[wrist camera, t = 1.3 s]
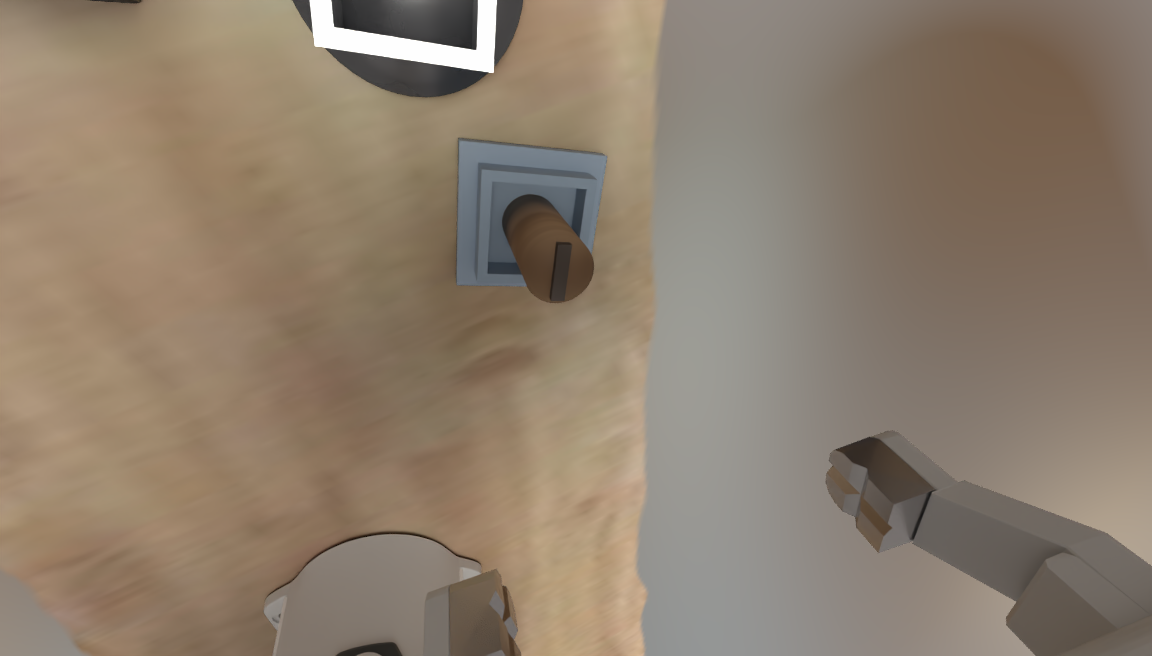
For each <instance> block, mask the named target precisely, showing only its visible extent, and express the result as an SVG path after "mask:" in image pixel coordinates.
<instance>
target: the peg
mask: <svg viewBox="0 0 1152 656" xmlns="http://www.w3.org/2000/svg"><path fill="white" fill-rule="evenodd" d="M502 227H503V231H504V234H505V236H506V238H507V241H508V243H509V245H510V248H511V250H512V252H513V255H514V257H515V259H516V262H517V264H518V266H519V269H520V271H521V273H522V276H523V278H524V280H525V283H526V285H527V287H528V289H529V290H530V292H531V293H532V294H533V295H534V296H536V297H537V298H539V299H541V300H543V301H546V302H550V303H561V302H566V301H569V300H571V299H573V298H575V297H577V296H578V295H579V294H581V293H582V292H583V291H584V290H585V289H586V287H587V286H588V284H589V283H590V281H591V278H592V275H593V270H594V262H593V258H592V255H591V253H590V251H589V249H588V248H587V247H586V245H585V244H584V243H583V242H582V240H581V239H580V238H579V237H578V236H577V234H576V233H575V232H574V231H573V229H572V228H571V227H570V226H569V225H568V223H567V222H566V221H565V220H564V219H563V217H562V216H561V215H560V214H559V212H558V211H557V210H556V209H555V208H554V206H553V205H552V204H551V203H550V202H549V201H548V200H547V199H545V198H544V197H542V196H539V195H535V194H526V195H522V196H519V197H517V198H516V199H514V200H513V201H512V202H511V203H510V204H509V205H508V206H507V207H506V209H505V211H504V214H503V218H502Z"/></svg>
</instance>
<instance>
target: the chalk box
mask: <svg viewBox="0 0 1152 656" xmlns="http://www.w3.org/2000/svg"><path fill="white" fill-rule="evenodd" d="M92 1H105V2H121V3H139V2H140V0H92Z"/></svg>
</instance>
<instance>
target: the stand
mask: <svg viewBox="0 0 1152 656" xmlns="http://www.w3.org/2000/svg"><path fill="white" fill-rule="evenodd" d="M606 161H607V156H606V155H605V154H603V153H595V152H586V151H577V150H567V149H558V148H549V147H539V146H530V145H521V144H511V143H502V142H493V141H483V140H474V139H464V138H458V195H457V253H456V283H457V285H469V286H527V285H526V283H525V280H524V278H523V276H522V273H521V271H520V269H519V266H518V264H517V262H516V259H515V257H514V255H513V252H512V250H511V248H510V245H509V243H508V241H507V238H506V236H505V234H504V231H503V227H502V218H503V214H504V211H505V209H506V207H507V206H508V205H509V204H510V203H511V202H512V201H513V200H514V199H516V198H517V197H519V196H522V195H526V194H535V195H539V196H542V197H544V198H545V199H547V200H548V201H549V202H550V203H551V204H552V205H553V206H554V208H555V209H556V210H557V211H558V212H559V214H560V215H561V216H562V217H563V219H564V220H565V221H566V222H567V223H568V225H569V226H570V227H571V228H572V229H573V231H574V232H575V233H576V234H577V236H578V237H579V238H580V239H581V240H582V242H583V243H584V244H585V245H586V247H587V248H588V249H589V251H590V253H591V255H592V248H593V242H594V236H595V230H596V223H597V217H598V211H599V205H600V199H601V192H602V186H603V180H604V174H605V168H606Z"/></svg>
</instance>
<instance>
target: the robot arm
mask: <svg viewBox="0 0 1152 656" xmlns="http://www.w3.org/2000/svg"><path fill="white" fill-rule="evenodd" d="M829 461H830V463H831V464H832V465H833V466H832V467H831V468H830V469H829V471H828V472H827V474H826V485H827V488H828V491H829V494H830V495H831V497H832V499H833V500H834V502H835V503H836V504H837V506H838V507H839V508H840V509H841V510H842V511H843V512H845V513H847V514H849V515H852V516H854V517H855V519H856V528H857V529H858V530H859V531H860V532H861V534H862V535H863V536H864V537H865V538H866V539H867V540H868V542H869V543H870V544H871V545H872V546H873V547H874V548H875V550H876V551H877V552H878V553H880V552H883V551H885V550H889V549H891V548H894V547H897V546H900V545H903V544H906V543H909V542H911V541H913V544H914V545H916V546H918V547H920V548H921V549H923V550H925V551H927V552H929V553H930V554H932V555H934V556H936V557H938V558H939V559H941V560H943V561H945V562H946V563H948V564H950V565H952V566H954V567H955V568H957V569H959V570H961V571H963V572H964V573H966V574H968V575H970V576H971V577H973V578H975V579H977V580H979V581H981V582H982V583H984V584H986V585H988V586H989V587H991V588H993V589H995V590H997V591H998V592H1000V593H1002V594H1004V595H1005V596H1007V597H1009V598H1011V599H1013V600H1014V601H1016V604H1015V605H1014V607H1013V608H1012V609H1011V611H1010V612H1009V614H1008V615H1007V617H1006V625H1007V626H1008V627H1009V628H1010V629H1011V630H1012V632H1013V633H1014V634H1015V635H1016V636H1017V637H1018V638H1019V639H1020V640H1021V641H1022V642H1023V643H1024V644H1025V645H1026V646H1027V647H1028V648H1029V649H1030V650H1031V651H1032V652H1033V653H1034V654H1035V656H1152V566H1151V565H1149V564H1148V563H1147V562H1145V561H1144V560H1143V559H1141V558H1140V557H1139V556H1137V555H1136V554H1134V553H1133V552H1132V551H1130V550H1129V549H1127V548H1126V547H1125V546H1124V545H1122V544H1121V543H1119V542H1118V541H1117V540H1115V539H1114V538H1113V537H1111V536H1110V535H1109V534H1107V533H1105V532H1102V531H1100V530H1097V529H1094V528H1091V527H1089V526H1086V525H1083V524H1081V523H1078V522H1075V521H1072V520H1070V519H1067V518H1064V517H1062V516H1059V515H1056V514H1054V513H1051V512H1048V511H1045V510H1043V509H1040V508H1037V507H1035V506H1032V505H1029V504H1027V503H1024V502H1021V501H1018V500H1016V499H1013V498H1010V497H1007V496H1005V495H1002V494H999V493H997V492H994V491H991V490H989V489H986V488H983V487H980V486H978V485H975V484H972V483H969V482H967V481H961V482H957V481H956V480H955V479H954V478H952V477H951V476H950V475H949V474H948V473H946V472H945V471H944V470H943V469H942V468H941V467H939V466H938V465H937V464H935V462H933V461H932V460H931V459H930V458H929V457H927V456H926V455H925V454H924V453H923V452H921V451H920V450H919V449H918V448H917V447H915V446H914V445H913V444H912V443H911V442H910V441H908V440H907V439H906V438H905V437H904V436H902V435H901V434H900V433H898V432H895V431H893V430H891V431H885V432H883V433H880V434H877V435H874V436H872V437H867V438H865V439H862V440H860V441H857V442H854V443H851V444H849V445H846V446H843V447H841V448H838V449H836V450H834V451H832V452H831V453H830V457H829ZM264 614H265V616H266V617H267V618H268V620H269V621H270V622H271V624H272V625H273V626H274V628H275V629H276V630H277V636H276V640H275V645H274V650H273V655H272V656H521V652H520V650H519V648H518V646H517V645H516V643H515V641H514V638H515V636H516V633H517V631H518V628H517V621H516V615H515V610H514V606H513V601H512V599H511V596H510V593H509V591H508V589H507V587H506V586H502V580H501V575H500V574H499V572H498V570H497V569H494V570H491V571H488V572H485V573H483V574H481V565H480V564H479V563H477V562H475V561H472V560H468V559H464V558H460V557H457V556H456V555H454V554H453V553H451V552H450V551H449V550H448V549H446V548H445V547H443V546H442V545H440V544H438V543H436V542H434V541H432V540H429V539H426V538H422V537H418V536H412V535H402V534H386V535H375V536H369V537H364V538H359V539H355V540H352V541H349V542H346V543H343V544H340V545H338V546H336V547H333V548H331V549H329V550H327V551H326V552H324V553H322V554H321V555H319V556H318V557H316V558H315V559H313V560H312V561H311V562H310V563H309V564H308V565H307V566H306V567H305V568H304V569H303V570H302V571H301V572H300V574H299V575H298V576H297V577H296V578H295V579H294V580H293V581H292V582H291V583H289V584H287V585H285V586H284V587H282V588H280V589H278V590H276V591H275V592H273V593H272V594H270V595H269V596H268V597H267V598H266V600H265V605H264Z"/></svg>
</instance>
